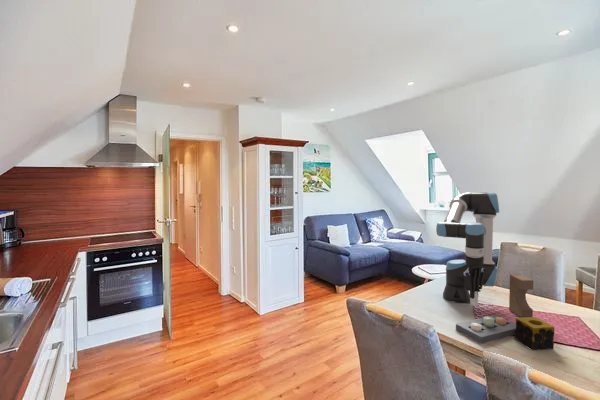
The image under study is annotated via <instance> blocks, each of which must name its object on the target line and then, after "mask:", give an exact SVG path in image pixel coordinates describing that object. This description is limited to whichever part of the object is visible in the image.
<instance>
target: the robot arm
mask: <svg viewBox="0 0 600 400" xmlns="http://www.w3.org/2000/svg"><path fill="white" fill-rule="evenodd" d="M448 206H449V207H448V211H447V214H446V216H445V219H444V220H443V221H439V222H437V223H436V229H435V230H436V231H435V233H436V235H437V236H438V237H444V238H454V239H455V238H456V239H465V249H464V251H465V257H464V258H465V259H451V260H448V261H447V262H446V265H445V267H446V268H445V287H444V290H443V291H442V298H443V299H444V300H447V301H448V302H452V303H458V304H464V303H465V304H467V303H470V305H473V306H478V303H479V299H478V298H479V293H481V290H482V289H483V287H490V288H491V287H494V286H495V285H496V282H497V277H498V270H499V267H498V266H496V263H495V262H494V261H493V243H494V242H493V238H494V237H493V233H494V219H495V218H496V216H497V214H498V213H500V205H499V197H498V195H497V193H495V192H488V191H487V192H464V193H460V194H458V195H457V196H455V197H453V198H452V199H451V200H450V202H449V205H448ZM466 212H470V213H473V217H475V222H467V223H465V222H463V223H462V222H461V220H462V218H463V215H464V214H465V213H466Z"/></svg>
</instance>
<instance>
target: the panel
mask: <svg viewBox="0 0 600 400" xmlns="http://www.w3.org/2000/svg"><path fill="white" fill-rule="evenodd" d="M487 316H488V317H492V318H494V328H491V329H489V328H487V327H485V326H483V320H484V317H485V316H483V317H480V318H475V319H471V320H467V321H466V320H465V321H463V322H458V323H455V331H458V332H459V333H461V334H463V335H465V336H467V338H470V339H472V340H474V341H475V342H477V343H479V344H481V345H482V344H486V343H489V342H494V341H497V340H500V339H504V338H509V337H513V336H515V329H516V322H513V321H510V320H508V319H506V325H503V326H502V325H500V324H497V323H496V317H500V316H499V315H497V314H492V315H487ZM471 323H478V324H481V325H482V331H479V332H476V331H474V330H472V329H471Z"/></svg>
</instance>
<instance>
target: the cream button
mask: <svg viewBox="0 0 600 400" xmlns="http://www.w3.org/2000/svg"><path fill="white" fill-rule="evenodd" d="M471 329H472V330H474V331H476V332H479V331H482V325H481V324H478V323H471Z"/></svg>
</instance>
